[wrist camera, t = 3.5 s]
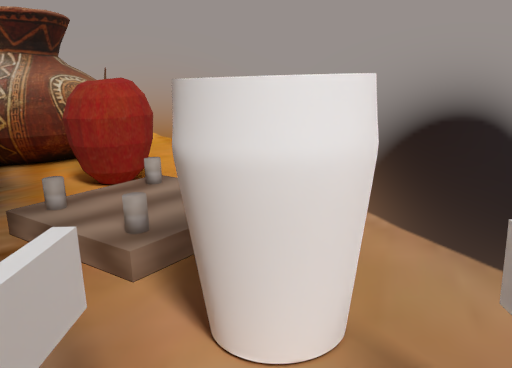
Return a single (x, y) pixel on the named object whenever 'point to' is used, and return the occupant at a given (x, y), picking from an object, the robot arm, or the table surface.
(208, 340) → the table surface
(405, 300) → the table surface
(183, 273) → the table surface
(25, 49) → the jug
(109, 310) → the table surface
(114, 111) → the apple
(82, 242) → the peg stand
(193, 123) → the cup
